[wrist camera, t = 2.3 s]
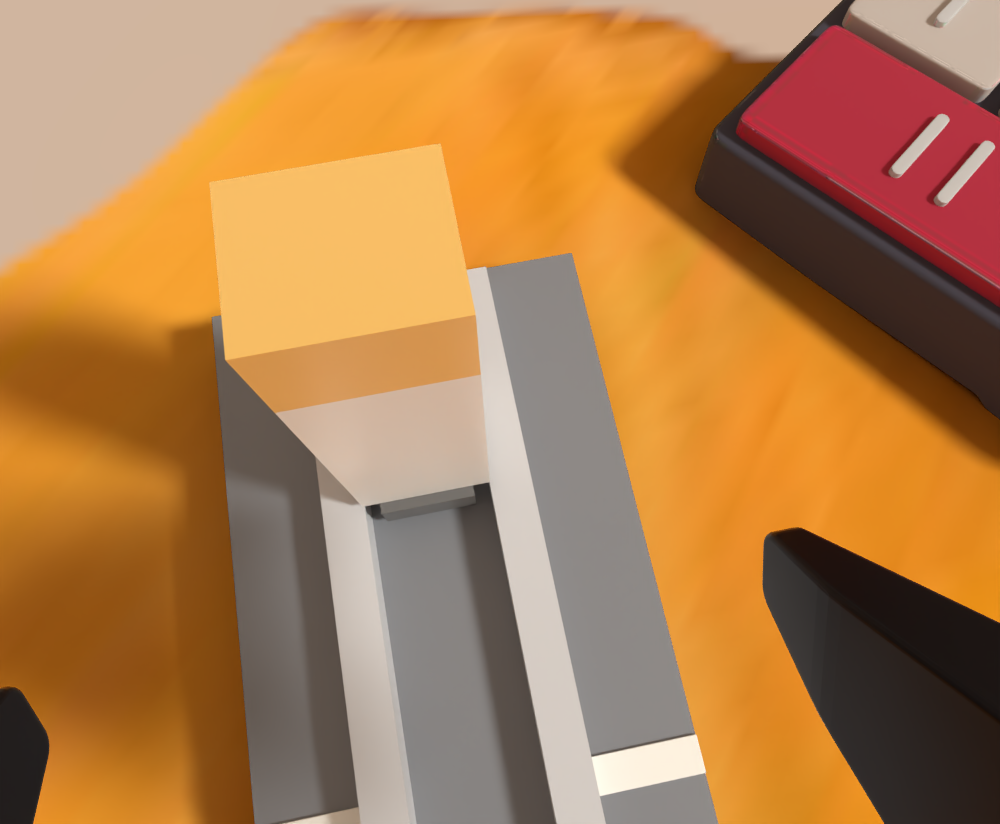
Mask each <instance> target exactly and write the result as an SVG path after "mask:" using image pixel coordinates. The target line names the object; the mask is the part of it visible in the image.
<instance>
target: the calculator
mask: <svg viewBox="0 0 1000 824" xmlns="http://www.w3.org/2000/svg"><path fill="white" fill-rule="evenodd" d="M695 191H696V194H697V195H698V196H699V198H701V199H702V200H703V201H704V202H706V203H707V204H708V205H710V206H711V207H712V208H714V209H715V210H716V211H718V212H719V213H721V214H722V215H723V216H725V217H726V218H727V219H729V220H730V221H731V222H733V223H734V224H736V225H737V226H738V227H740V228H741V229H742V230H744V231H745V232H746V233H748V234H749V235H750V236H752V237H753V238H755V239H756V240H757V241H759V242H760V243H761V244H763V245H764V246H765V247H767V248H768V249H770V250H771V251H772V252H774V253H775V254H776V255H778V256H779V257H780V258H782V259H783V260H785V261H786V262H787V263H789V264H790V265H791V266H793V267H794V268H795V269H797V270H798V271H800V272H801V273H802V274H804V275H805V276H806V277H808V278H809V279H811V280H812V281H814V282H815V283H816V284H818V285H819V286H821V287H822V288H823V289H825V290H826V291H828V292H829V293H831V294H832V295H833V296H835V297H836V298H838V299H839V300H841V301H842V302H844V303H845V304H846V305H848V306H849V307H851V308H852V309H854V310H855V311H857V312H858V313H859V314H861V315H862V316H864V317H865V318H867V319H868V320H870V321H871V322H872V323H874V324H875V325H877V326H878V327H880V328H881V329H883V330H884V331H885V332H887V333H888V334H890V335H891V336H893V337H894V338H896V339H897V340H898V341H900V342H901V343H903V344H904V345H906V346H907V347H909V348H910V349H911V350H913V351H914V352H916V353H917V354H919V355H920V356H922V357H923V358H924V359H926V360H927V361H929V362H930V363H932V364H933V365H935V366H936V367H937V368H939V369H940V370H942V371H943V372H945V373H946V374H948V375H949V376H950V377H952V378H953V379H955V380H956V381H958V382H959V383H960V384H962V385H963V386H965V387H966V388H968V389H969V390H970V391H972V392H973V393H975V394H976V395H977V396H978V398H979V399H980V401H981V402H982V404H983V405H984V407H985V408H986V409H987V410H988V411H990V412H991V413H992V414H993V415H995V416H996V417H997V418H999V419H1000V0H842V1H841V2H840V3H839V4H838V6H836V7H835V8H834V9H833V10H832V11H831V12H830V13H829V14H828V15H827V16H826V17H825V18H824V19H823V20H822V21H821V22H820V23H819V24H818V25H817V26H816V27H815V28H814V29H813V30H812V31H811V32H810V33H809V34H808V35H807V36H806V37H805V38H804V39H803V40H802V41H801V42H800V43H799V44H798V45H797V46H796V47H795V48H794V49H793V50H792V51H791V52H790V53H789V54H788V55H787V56H786V57H785V58H784V59H783V60H782V61H781V62H780V63H779V64H778V65H777V66H776V67H775V68H774V69H773V70H772V71H771V72H770V73H769V74H768V75H767V76H766V77H765V78H764V79H763V80H762V81H761V82H760V83H759V84H758V85H757V86H756V87H755V88H754V89H753V90H752V91H751V92H750V93H749V94H748V95H747V96H746V97H745V98H744V99H743V100H742V101H741V102H740V103H739V104H738V105H737V106H736V107H735V108H734V109H733V110H732V111H731V112H730V113H729V114H728V115H727V116H726V117H725V118H724V119H723V120H722V121H721V122H720V123H719V124H718V125H717V126H716V128H715V129H714V131H713V133H712V136H711V139H710V142H709V145H708V148H707V151H706V154H705V157H704V160H703V163H702V166H701V169H700V172H699V176H698V179H697V182H696V185H695Z"/></svg>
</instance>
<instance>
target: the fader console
mask: <svg viewBox="0 0 1000 824" xmlns="http://www.w3.org/2000/svg"><path fill="white" fill-rule="evenodd" d="M467 274H468V279H469V284H470V289H471V294H472V299H473V304H474V309H475V313H476V323H477V335H478V347H479V359H480V371H481V383H482V395H483V407H484V418H485V430H486V442H487V454H488V466H489V478H490V482H488V483H483V484H477V485H473V488H474V493H475V498H476V504H474V505H469V506H464V507H459V508H454V509H449V510H444V511H439V512H433V513H428V514H423V515H418V516H413V517H408V518H403V519H398V520H392V521H387V520H386V519H385V518H384V516H383V515H382V514H381V508H380V504H374V505H369V506H364V507H363V506H362V505H361V504H360V503H359V502H358V501H357V500H356V499H355V498H354V497H353V496H352V495H351V494H350V493H349V492H348V491H347V489H346V488H345V487H344V486H343V485H342V484H341V483H340V482H339V481H338V480H337V479H336V478H335V477H334V476H333V475H332V473H331V472H330V471H329V470H328V469H327V468H326V467H325V466H324V465H323V464H322V463H321V462H320V461H319V460H318V459H317V457H316V456H315V455H314V454H313V453H312V452H311V451H310V450H309V449H308V448H307V447H306V446H305V445H304V444H303V443H302V442H301V440H300V439H299V438H298V437H297V436H296V435H295V434H294V433H293V432H292V431H291V430H290V429H289V428H288V427H287V426H286V424H285V423H284V422H283V421H282V420H281V419H280V418H279V417H278V416H277V415H276V414H275V413H274V412H273V411H272V410H271V408H270V407H269V406H268V405H267V404H266V403H265V402H264V401H263V400H262V399H261V398H260V397H259V396H258V395H257V394H256V392H255V391H254V390H253V389H252V388H251V387H250V386H249V385H248V384H247V383H246V382H245V381H244V380H243V379H242V378H241V377H240V375H239V374H238V373H237V372H236V371H235V370H234V369H233V368H232V367H231V366H230V365H229V364H228V363H227V362H226V361H225V352H224V341H223V329H222V318H221V316H215V317H212V325H213V336H214V348H215V360H216V372H217V384H218V396H219V407H220V419H221V431H222V443H223V455H224V467H225V479H226V490H227V502H228V514H229V526H230V538H231V550H232V562H233V573H234V585H235V597H236V609H237V621H238V633H239V644H240V656H241V668H242V680H243V692H244V704H245V716H246V727H247V739H248V751H249V763H250V775H251V787H252V798H253V810H254V822H255V824H718V821H717V817H716V813H715V809H714V805H713V801H712V798H711V794H710V790H709V786H708V782H707V778H706V774H705V773H706V770H705V767H704V763H703V759H702V755H701V751H700V747H699V743H698V739H697V735H696V734H695V731H694V727H693V724H692V720H691V716H690V712H689V708H688V704H687V700H686V696H685V692H684V689H683V685H682V681H681V677H680V673H679V669H678V665H677V661H676V657H675V653H674V650H673V646H672V642H671V638H670V634H669V630H668V626H667V622H666V618H665V615H664V611H663V607H662V603H661V599H660V595H659V591H658V587H657V583H656V580H655V576H654V572H653V568H652V564H651V560H650V556H649V552H648V548H647V544H646V541H645V537H644V533H643V529H642V525H641V521H640V517H639V513H638V509H637V506H636V502H635V498H634V494H633V490H632V486H631V482H630V478H629V474H628V470H627V467H626V463H625V459H624V455H623V451H622V447H621V443H620V439H619V435H618V432H617V428H616V424H615V420H614V416H613V412H612V408H611V404H610V400H609V397H608V393H607V389H606V385H605V381H604V377H603V373H602V369H601V365H600V361H599V358H598V354H597V350H596V346H595V342H594V338H593V334H592V330H591V326H590V323H589V319H588V315H587V311H586V307H585V303H584V299H583V295H582V291H581V287H580V284H579V280H578V276H577V272H576V268H575V264H574V260H573V256H572V253H569V254H563V255H558V256H552V257H546V258H541V259H535V260H530V261H524V262H518V263H513V264H507V265H502V266H496V267H490V268H486V267H481V268H475V269H469V270H467Z"/></svg>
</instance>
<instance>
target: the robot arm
mask: <svg viewBox="0 0 1000 824" xmlns="http://www.w3.org/2000/svg"><path fill="white" fill-rule="evenodd" d="M763 592H764V596H765V599H766V603H767V605H768V607H769V609H770V611H771V614H772V616H773V618H774V620H775V622H776V624H777V626H778V629H779V631H780V633H781V635H782V637H783V639H784V642H785V644H786V646H787V648H788V650H789V652H790V654H791V657H792V659H793V661H794V663H795V665H796V667H797V669H798V672H799V674H800V676H801V678H802V680H803V682H804V684H805V687H806V689H807V691H808V693H809V695H810V697H811V699H812V701H813V703H814V705H815V707H816V709H817V711H818V713H819V715H820V717H821V719H822V721H823V722H824V724H825V726H826V728H827V729H828V731H829V733H830V734H831V736H832V738H833V739H834V741H835V743H836V744H837V746H838V748H839V749H840V751H841V753H842V754H843V756H844V758H845V759H846V761H847V763H848V764H849V766H850V767H851V769H852V771H853V772H854V774H855V776H856V777H857V779H858V781H859V782H860V784H861V786H862V787H863V789H864V791H865V792H866V794H867V796H868V797H869V799H870V801H871V802H872V804H873V805H874V807H875V809H876V810H877V812H878V814H879V815H880V817H881V819H882V820H883V822H884V824H1000V623H999V622H997V621H995V620H993V619H990V618H988V617H986V616H984V615H982V614H980V613H978V612H976V611H974V610H972V609H970V608H968V607H965V606H963V605H961V604H959V603H957V602H955V601H953V600H951V599H949V598H947V597H945V596H943V595H940V594H938V593H936V592H934V591H932V590H930V589H928V588H926V587H924V586H922V585H920V584H918V583H915V582H913V581H911V580H909V579H907V578H905V577H903V576H901V575H899V574H897V573H895V572H893V571H890V570H888V569H886V568H884V567H882V566H880V565H878V564H876V563H874V562H872V561H870V560H868V559H865V558H863V557H861V556H859V555H857V554H855V553H853V552H851V551H849V550H847V549H845V548H843V547H840V546H838V545H836V544H834V543H832V542H830V541H828V540H826V539H824V538H822V537H820V536H818V535H815V534H813V533H811V532H809V531H807V530H805V529H802V528H798V527H796V528H789V529H784V530H779V531H774V532H771V533H769V534H768V535H767V536H766V537H765V540H764V552H763ZM48 755H49V739H48V736H47V733H46V730H45V729H44V727H43V725H42V724H41V722H40V721H39V719H38V717H37V716H36V714H35V712H34V711H33V709H32V708H31V706H30V704H29V703H28V701H27V699H26V698H25V696H24V695H23V693H22V692H21V691H20V690H18V689H17V688H15V687H3V688H0V824H33V821H34V817H35V813H36V808H37V804H38V799H39V795H40V791H41V786H42V782H43V777H44V773H45V769H46V764H47V760H48Z"/></svg>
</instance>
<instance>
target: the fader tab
mask: <svg viewBox="0 0 1000 824" xmlns="http://www.w3.org/2000/svg"><path fill="white" fill-rule="evenodd" d="M209 183H210V194H211V205H212V217H213V228H214V239H215V251H216V262H217V273H218V284H219V296H220V307H221V318H222V329H223V341H224V352H225V361H226V362H227V363H228V364H229V365H230V366H231V367H232V368H233V369H234V370H235V371H236V372H237V373H238V374H239V375H240V377H241V378H242V379H243V380H244V381H245V382H246V383H247V384H248V385H249V386H250V387H251V388H252V389H253V390H254V391H255V392H256V394H257V395H258V396H259V397H260V398H261V399H262V400H263V401H264V402H265V403H266V404H267V405H268V406H269V407H270V408H271V410H272V411H273V412H274V413H275V414H276V415H277V416H278V417H279V418H280V419H281V420H282V421H283V422H284V423H285V424H286V426H287V427H288V428H289V429H290V430H291V431H292V432H293V433H294V434H295V435H296V436H297V437H298V438H299V439H300V440H301V442H302V443H303V444H304V445H305V446H306V447H307V448H308V449H309V450H310V451H311V452H312V453H313V454H314V455H315V456H316V457H317V459H318V460H319V461H320V462H321V463H322V464H323V465H324V466H325V467H326V468H327V469H328V470H329V471H330V472H331V473H332V475H333V476H334V477H335V478H336V479H337V480H338V481H339V482H340V483H341V484H342V485H343V486H344V487H345V488H346V489H347V491H348V492H349V493H350V494H351V495H352V496H353V497H354V498H355V499H356V500H357V501H358V502H359V503H360V504H361V505H362V506H363V507H364V506H369V505H374V504H380V508H381V514H382V515H383V516H384V518H385V519H386V520H387V521H392V520H398V519H403V518H408V517H413V516H418V515H423V514H428V513H433V512H439V511H444V510H449V509H454V508H459V507H464V506H469V505H474V504H476V498H475V493H474V488H473V485H477V484H483V483H488V482H490V478H489V466H488V454H487V442H486V430H485V418H484V407H483V395H482V383H481V371H480V359H479V347H478V335H477V323H476V313H475V309H474V304H473V299H472V294H471V289H470V284H469V279H468V274H467V270H466V265H465V260H464V255H463V250H462V245H461V240H460V236H459V231H458V226H457V221H456V216H455V211H454V206H453V201H452V197H451V192H450V187H449V182H448V177H447V172H446V167H445V163H444V158H443V153H442V148H441V143H440V144H434V145H428V146H422V147H416V148H410V149H404V150H398V151H392V152H386V153H380V154H374V155H368V156H363V157H357V158H351V159H345V160H339V161H333V162H327V163H321V164H315V165H309V166H303V167H297V168H291V169H285V170H279V171H273V172H267V173H262V174H256V175H250V176H244V177H238V178H232V179H226V180H220V181H214V182H209Z"/></svg>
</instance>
